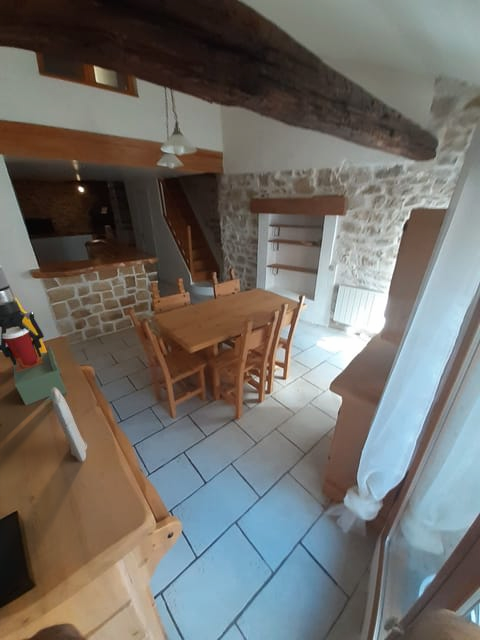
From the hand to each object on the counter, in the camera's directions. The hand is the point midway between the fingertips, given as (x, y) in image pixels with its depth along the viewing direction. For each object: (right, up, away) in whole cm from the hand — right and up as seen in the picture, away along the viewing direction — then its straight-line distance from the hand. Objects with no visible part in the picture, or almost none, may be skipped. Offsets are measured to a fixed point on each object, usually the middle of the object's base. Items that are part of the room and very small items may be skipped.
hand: (27, 359), depth 93 cm
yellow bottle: (-16, -3, +23) cm, 28 cm away
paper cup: (0, -2, +1) cm, 2 cm away
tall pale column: (+31, -24, -18) cm, 43 cm away
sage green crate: (+3, -12, +4) cm, 13 cm away
